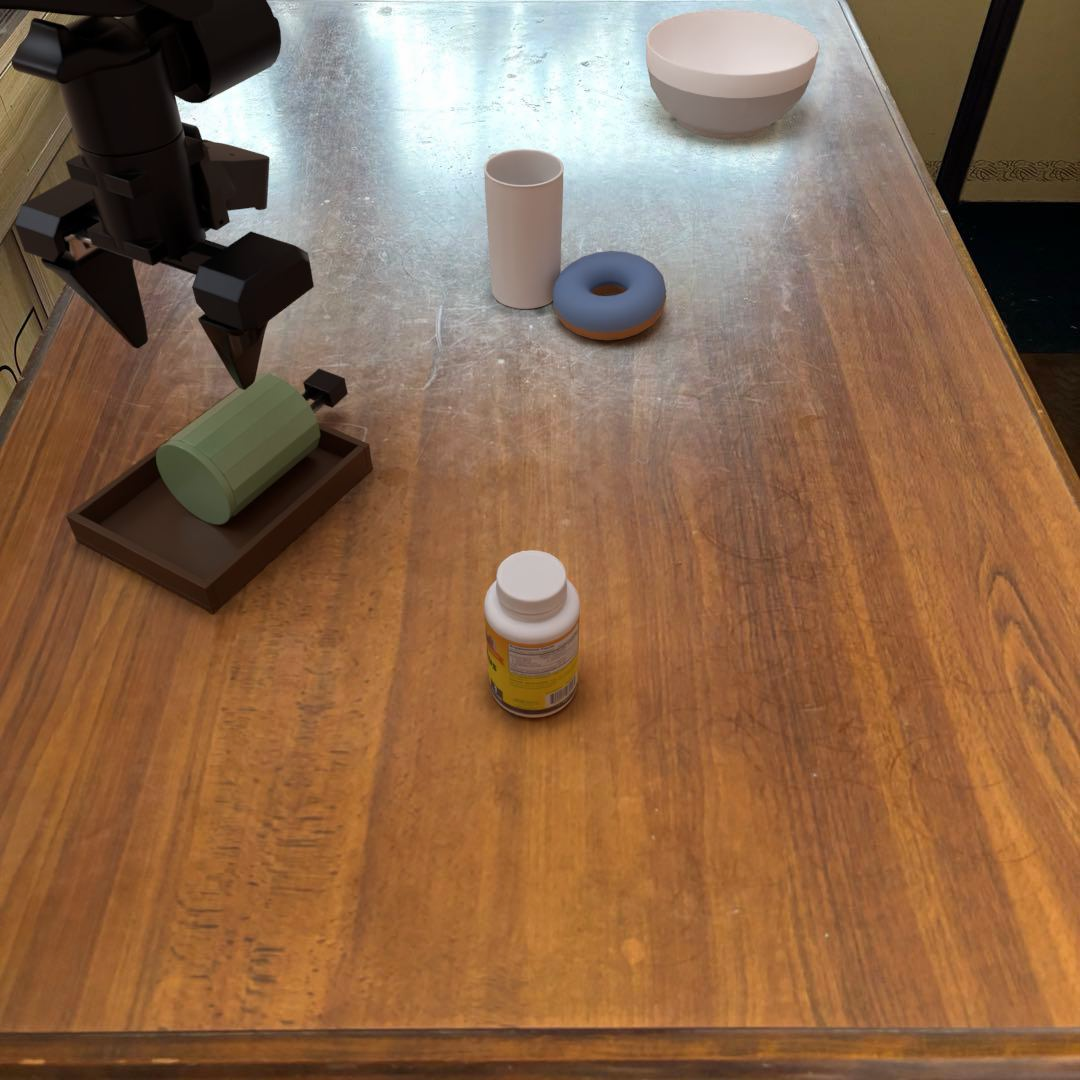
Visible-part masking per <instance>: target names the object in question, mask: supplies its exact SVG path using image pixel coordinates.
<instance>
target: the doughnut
mask: <svg viewBox="0 0 1080 1080" xmlns="http://www.w3.org/2000/svg"><path fill="white" fill-rule="evenodd" d="M552 302H553V307H554V312H555V314H556V316H557V318H558V319H559V320H560V321H561V323H562V325H564V328H565V327H566V328H567V329H568V330H570V331H571V332H573V333H574V334H576V335H578V336H582V337H584V338H588V339H591V340H598V341H614V340H615V341H616V340H624V339H627V338H630V337H633V336H635V335H639V334H640V333H641V332H643V331H644V330H647V329H648V328H650V327H652V326H653V325H654V324H655V322H656V321H657V320H658V319H659V318H660V316H661V315H662V314H663V311H664V309H665V306H666V302H667V288H666V284H665V279H664V276H663V274H662V272H661V271H660V270H659V269H658V267H656V264H654V263H653V262H651V261H649V260H648V259H646V258H644V257H643V256H641V255H638V254H635V253H631V252H628V251H619V250H618V251H617V250H608V251H607V250H605V251H600V252H599V251H598V252H593V253H591V254H587V255H584V256H581V257H580V258H577V259H575V260H574V261H573V262H571V263H569V264H568V265H566V267H565V268H564V269H563V270H562V271H560V274H559V276H558V278H557V280H556V283H555V285H554V288H553V301H552Z"/></svg>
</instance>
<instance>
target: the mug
mask: <svg viewBox="0 0 1080 1080" xmlns="http://www.w3.org/2000/svg"><path fill="white" fill-rule="evenodd" d="M564 167H565V165H564V163H563V161H562V160H561V159H560V158H559V157H557V156H556V155H554V154H552V153H549V152H546V151H543V150H538V149H529V148H526V149H525V148H519V149H510V150H505V151H501V152H499V153H492V154H489V156H488V159H487V160H486V161H485V162H484V164H483V173H484V174H483V175H484V197H485V198H484V199H485V210H486V225H487V241H488V256H489V257H488V258H489V259H488V260H489V271H490V283H491V284H490V285H491V293H492V296H493V297H494V299H495V300H496V301H498V302H499V303H500V304H502V305H504V306H505V307H509V308H513V309H519V310H520V309H522V310H528V309H530V310H531V309H537V308H542V307H544V306H547V305H549V304H550V303H552V302H553V288H554V285H555V283H556V280H557V278H558V276H559V274H560V273H561V266H562V262H561V261H562V234H563V233H562V232H563V231H562V230H563V204H564V203H563V202H564V170H565V168H564Z"/></svg>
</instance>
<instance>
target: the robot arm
mask: <svg viewBox="0 0 1080 1080" xmlns="http://www.w3.org/2000/svg"><path fill="white" fill-rule="evenodd" d="M0 10H15V11H17V10H19V11H29V12H39V13H47V14H48V13H49V14H57V15H66V16H76V17H81V18H78V19H75V20H74V21H72V22H69V23H67V24H62V23H59V22H53V21H50V20H48V19H47V20H46V19H44V18H40V17H33V18H32V19H31V21H30V25H29V30H28V32H27V35H26V36H25V38H24V39H23V40H22V41H21V42H20V43H19V44H18V45H17V48H16V49H15V53H14V55H13V56H12V58H11V66H12V68H13V69H14V70H15V71H16V72H19V73H22V74H26V75H30V76H33V77H36V78H39V79H43V80H46V81H50V82H52V83H53V82H54V83H56V84H58V87H59V90H60V94H61V96H62V99H63V103H64V106H65V109H66V112H67V116H68V120H69V123H70V124H71V129H72V132H73V135H74V139H75V142H76V144H77V148H78V151H79V154H78V155H75V156H74V157H72V158H70V159H68V160H66V161H65V165H66V168H67V171H68V174H69V177H70V178H67V179H65V180H64V181H62V182H61V183H58V184H56V185H55V186H52V187H51V188H49V189H47V190H46V191H44V192H42V193H40V194H38V195H36V196H34V197H33V198H31V199H29V200H27V201H25V202H24V203H22V204H20V206H19V207H20V208H19V211H18V214H17V217H16V219H15V222H14V226H15V229H16V232H17V235H18V238H19V240H20V242H21V246H22V249H23V251H24V252H25V253H28V254H31V255H33V256H36V257H38V258H40V261H41V263H42V266H44V267H45V268H46V269H47V270H50V271H52V272H53V273H55V274H56V275H57V276H58V277H59V278H60V279H61V280H62V281H63V282H64V283H65V284H66V285H67V286H69V287H70V288H71V289H72V290H73V291H74V292H75V293H76V294H77V295H79V297H81V299H83V300H84V301H85V302H86V303H87V304H88V305H89V306H90V307H91V308H92V309H93V310H94V311H95V312H96V313H98V314H99V316H101V318H103V319H104V320H105V321H106V322H107V323H108V324H109V326H110V327H112V328H113V330H115V331H116V332H117V333H118V334H119V335H120V336H121V337H122V339H124V340H125V341H126V342H127V343H128V344H129V345H130V346H131V347H132V348H134V349H140V348H141V347H143V346H144V345H146V344H147V343H148V341H149V336H148V330H147V329H148V327H147V321H146V316H145V312H144V308H143V307H144V306H143V302H142V299H141V294H140V290H139V286H138V281H137V277H136V272H135V268H134V261H137V262H139V263H143V264H144V265H148V266H152V267H154V266H155V265H158V264H163V265H165V266H168V267H172V268H174V269H177V270H179V271H183V272H186V273H189V274H191V275H194V276H195V277H194V280H193V283H192V285H191V288H192V292H193V296H194V300H195V304H196V305H197V306H198V307H199V308H200V310H201V311H202V312H203V314H202V315H201V316H200V317H198V318H197V319H198V322H199V324H200V326H201V327H202V329H203V331H204V333H205V335H206V336H207V338H208V339H209V341H210V343H211V344H212V346H213V348H214V350H215V351H216V354H217V355H218V357H219V358H220V360H221V362H222V365H224V367H225V369H226V371H227V373H228V374H229V376H230V377H231V378H232V380H233V382H234V384H236V386H237V388H240V389H243V390H246V389H247V388H248V387H250V386H251V385H252V384H253V383H254V382H255V378H256V375H257V374H258V373H257V372H258V368H259V362H260V357H261V353H262V349H263V345H264V339H265V333H266V330H267V327H268V324H269V321H271V320H273V319H274V317H275V318H276V317H277V316H278V315H279V314H281V313H282V312H283V311H284V310H285V309H287V308H288V307H289V306H291V305H292V304H293V303H295V302H296V301H297V300H299V299H300V298H302V297H303V296H304V295H305V294H306V293H308V292H309V291H311V290H312V289H313V288H314V287H315V284H314V279H313V273H312V267H311V261H310V257H309V252H307V251H305V250H304V249H302V248H300V247H299V246H297V245H295V244H292V243H289V242H286V241H282V240H280V239H276V238H273V237H269V236H267V235H263V234H260V233H258V232H254V231H251V230H250V231H248V232H247V233H246V234H244V235H243V236H241V237H240V238H238V239H237V240H235V241H234V242H232V243H231V244H229V245H223V244H220V243H218V242H215V241H212V240H210V239H207V232H208V231H209V230H213V231H219V230H220V229H221V228H222V229H223V227H225V226H226V225H228V224H230V223H231V221H230V216H229V212H230V211H237V210H239V211H240V210H247V209H255V210H257V211H263V210H267V208H268V194H269V180H270V179H269V178H270V177H269V176H270V161H271V160H270V157H269V156H268V155H265V154H263V153H260V152H257V151H256V152H255V151H252V150H249V149H246V148H242V147H238V146H234V145H231V144H228V143H222V142H216V141H213V140H209V139H205V138H204V139H203V138H202V134H201V132H200V128H198V126H197V125H194V124H190V123H188V122H184V121H182V119H181V116H180V111H179V107H178V102H177V98H179V99H180V100H182V101H184V102H186V103H189V104H202V103H204V102H206V101H209V100H210V99H213V98H214V97H216V96H218V95H220V94H222V93H224V92H225V91H228V90H229V89H232V88H233V87H235V86H238V85H240V84H241V83H243V82H245V81H246V80H248V79H251V78H253V77H254V76H256V75H258V74H260V73H262V72H264V71H266V70H268V69H269V68H271V67H272V66H273V65H275V63H276V62H277V60H278V58H279V56H280V53H281V48H282V31H281V27H280V22H279V20H278V18H277V17H276V16H275V15H274V13H273V10H272V7H271V6H270V4H269V2H268V1H267V0H0ZM176 97H177V98H176Z"/></svg>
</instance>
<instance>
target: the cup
mask: <svg viewBox="0 0 1080 1080" xmlns="http://www.w3.org/2000/svg"><path fill="white" fill-rule="evenodd" d="M237 388H238V389H236V388H235V389H236V390H235V389H234V390H235V391H234V392H232V391H231V392H232V393H231V392H230V393H231V394H230V395H228V394H227V395H228V396H227V395H226V396H227V397H226V398H224V397H223V398H224V399H223V398H222V399H223V400H221V399H220V400H221V401H220V400H219V401H220V402H219V401H218V402H219V403H217V402H216V403H217V404H216V403H215V404H216V405H215V404H214V405H215V406H213V405H212V406H213V407H212V406H211V407H212V408H211V407H210V408H211V409H209V408H208V409H209V410H208V409H207V410H208V411H207V410H206V411H207V412H205V411H204V412H205V413H204V412H203V413H204V414H203V413H202V414H203V415H201V414H200V415H201V416H200V415H199V416H200V417H199V416H198V417H199V418H197V417H196V418H197V419H196V418H195V419H196V420H195V419H194V420H195V421H193V420H192V421H193V422H192V421H191V422H192V423H191V422H190V423H191V424H189V423H188V424H189V425H188V424H187V425H188V426H187V425H185V426H186V427H185V426H184V427H185V428H184V427H183V428H184V429H183V428H181V429H182V430H181V429H180V430H181V431H180V430H179V431H180V432H179V431H177V432H178V433H177V432H176V433H177V434H176V433H175V434H176V435H175V434H174V436H173V435H172V436H173V437H172V436H171V437H172V438H170V437H169V438H170V439H169V438H168V439H169V440H168V439H167V440H168V441H167V442H166V443H164V442H163V443H164V444H163V445H162V446H160V445H159V446H160V447H159V449H158V450H157V453H156V462H157V467H158V470H159V472H160V475H161V477H162V479H163V481H164V482H165V484H166V486H167V487H168V489H169V490H170V491H171V493H172V494H173V495H174V496H175V498H176V499H177V500H178V501H179V502H180V503H181V504H182V505H183V506H184V507H185V508H186V509H187V510H189V511H190V512H191V513H192V514H194V515H195V516H197V517H198V518H200V519H202V520H203V521H206V522H208V523H211V524H216V525H220V524H224V523H226V522H227V521H229V520H230V519H231V518H232V517H234V516H235V515H236V514H238V513H239V512H240V511H241V510H242V509H244V508H245V507H246V506H247V505H248V504H249V503H251V502H252V501H253V500H254V499H255V498H257V497H258V496H259V495H260V494H261V493H263V492H264V491H265V490H266V489H267V488H268V487H270V486H271V485H272V484H273V483H274V482H276V481H277V480H278V479H279V478H280V477H282V476H283V475H284V474H285V473H286V472H288V471H289V470H290V469H291V468H292V467H293V466H295V465H296V464H297V463H298V462H299V461H301V460H302V459H303V458H304V457H305V456H307V455H308V454H309V453H310V452H311V451H313V450H314V449H315V448H316V447H317V446H318V443H319V439H320V430H319V425H318V422H319V421H318V419H317V417H316V415H315V414H314V413H313V411H312V409H311V407H310V405H311V404H310V403H308V402H309V401H306V400H305V399H304V398H303V396H302V395H301V394H302V393H300V391H299V390H297V388H295V387H294V386H293V385H292V384H291V383H289V382H288V381H286V380H285V379H284V378H282V377H279V376H277V375H275V374H272V373H269V372H268V373H256V378H255V382H254V383H253V384H252V385H251V386H250V387H248V388H247V389H246V390H243V389H240V388H239V387H237Z"/></svg>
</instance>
